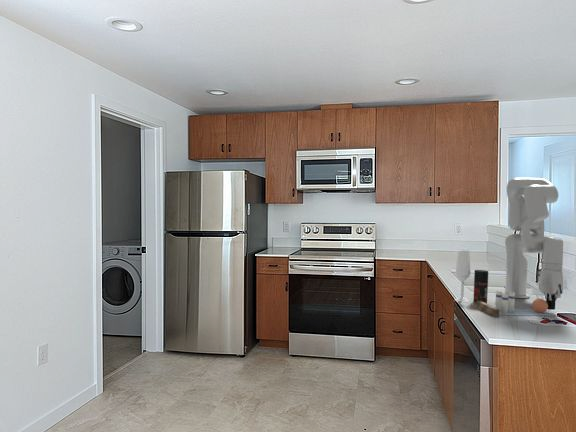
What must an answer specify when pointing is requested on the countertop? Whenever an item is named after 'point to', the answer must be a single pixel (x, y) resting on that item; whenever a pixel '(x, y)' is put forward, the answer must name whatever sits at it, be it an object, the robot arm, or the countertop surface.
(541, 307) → the ball
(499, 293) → the pin
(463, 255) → the champagne flute
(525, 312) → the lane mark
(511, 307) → the pin front
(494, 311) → the back wall
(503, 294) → the pin
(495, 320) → the countertop surface
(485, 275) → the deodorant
